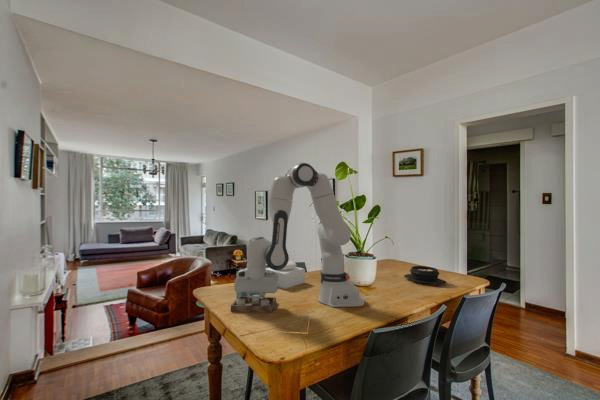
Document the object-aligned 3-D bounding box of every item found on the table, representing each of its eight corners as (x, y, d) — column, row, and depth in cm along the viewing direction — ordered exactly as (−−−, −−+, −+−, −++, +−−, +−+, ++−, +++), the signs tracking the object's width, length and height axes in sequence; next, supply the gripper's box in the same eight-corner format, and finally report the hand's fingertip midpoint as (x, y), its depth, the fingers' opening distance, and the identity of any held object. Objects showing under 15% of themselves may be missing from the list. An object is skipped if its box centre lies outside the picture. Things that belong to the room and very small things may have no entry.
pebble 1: (246, 307, 130) (246, 298, 130) (243, 310, 127) (243, 301, 127) (237, 307, 131) (238, 298, 131) (235, 310, 127) (235, 301, 127)
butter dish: (304, 283, 173) (305, 256, 173) (284, 289, 160) (284, 261, 160) (284, 277, 185) (284, 253, 185) (263, 283, 171) (263, 257, 172)
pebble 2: (260, 303, 135) (260, 294, 135) (258, 306, 132) (259, 297, 132) (252, 303, 136) (252, 294, 136) (250, 306, 132) (250, 297, 132)
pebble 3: (269, 308, 129) (269, 299, 129) (268, 311, 126) (268, 302, 126) (261, 308, 130) (261, 299, 130) (259, 311, 126) (259, 302, 126)
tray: (276, 303, 137) (276, 297, 137) (271, 314, 124) (271, 307, 124) (239, 302, 138) (239, 296, 138) (230, 312, 125) (230, 305, 125)
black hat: (397, 279, 182) (397, 266, 182) (413, 275, 194) (413, 263, 194) (436, 289, 162) (436, 274, 163) (451, 284, 174) (452, 270, 174)
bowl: (263, 294, 151) (263, 284, 151) (258, 301, 139) (258, 292, 139) (241, 293, 152) (241, 284, 152) (234, 300, 140) (234, 291, 140)
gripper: (279, 270, 136) (279, 300, 136) (237, 269, 138) (236, 298, 138) (277, 274, 130) (276, 304, 130) (233, 273, 131) (232, 303, 131)
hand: (255, 301), depth 134 cm, fingers closed on pebble 2, 4 cm apart
